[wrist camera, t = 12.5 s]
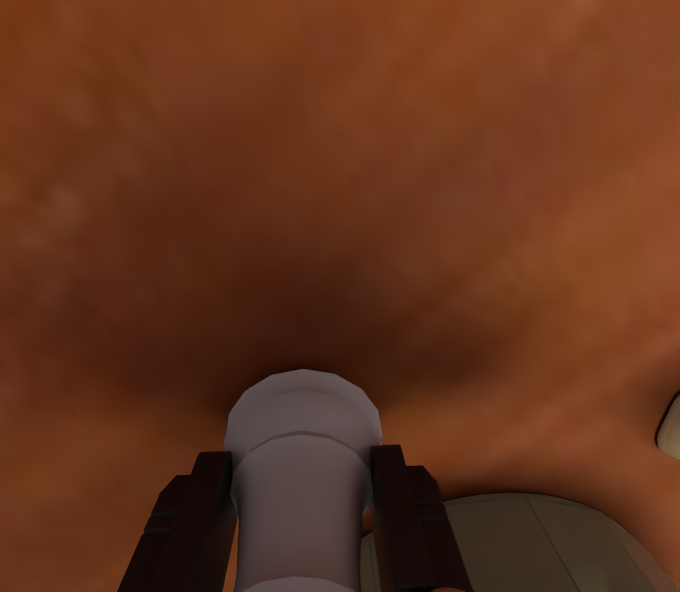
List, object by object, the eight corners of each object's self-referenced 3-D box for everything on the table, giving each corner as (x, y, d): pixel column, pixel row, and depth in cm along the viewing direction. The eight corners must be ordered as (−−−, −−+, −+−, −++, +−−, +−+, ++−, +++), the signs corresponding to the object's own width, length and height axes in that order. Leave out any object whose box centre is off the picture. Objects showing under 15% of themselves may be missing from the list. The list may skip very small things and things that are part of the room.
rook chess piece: (235, 485, 13) (127, 945, 6) (221, 360, 12) (48, 773, 4) (377, 481, 13) (449, 918, 6) (384, 358, 12) (495, 749, 4)
